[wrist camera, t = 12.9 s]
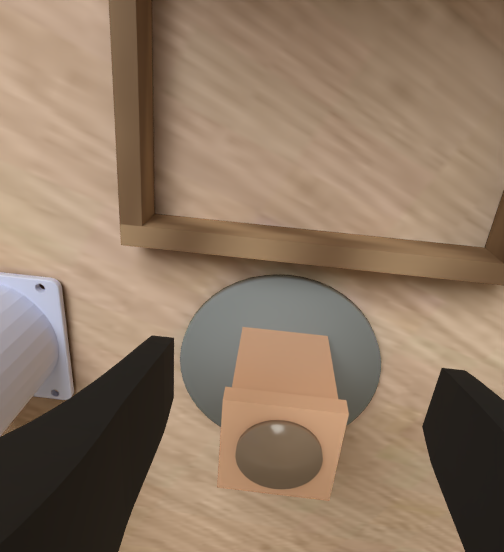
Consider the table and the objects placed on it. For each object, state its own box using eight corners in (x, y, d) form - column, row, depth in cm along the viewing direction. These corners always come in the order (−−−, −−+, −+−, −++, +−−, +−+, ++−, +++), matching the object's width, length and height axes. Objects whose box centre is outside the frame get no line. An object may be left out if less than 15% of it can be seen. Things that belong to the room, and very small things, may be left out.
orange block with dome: (232, 396, 24) (216, 493, 19) (238, 322, 22) (221, 404, 16) (319, 406, 24) (329, 506, 18) (333, 332, 22) (350, 419, 16)
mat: (181, 425, 26) (179, 433, 26) (184, 263, 22) (181, 268, 21) (358, 446, 26) (359, 454, 25) (399, 286, 21) (402, 292, 21)
